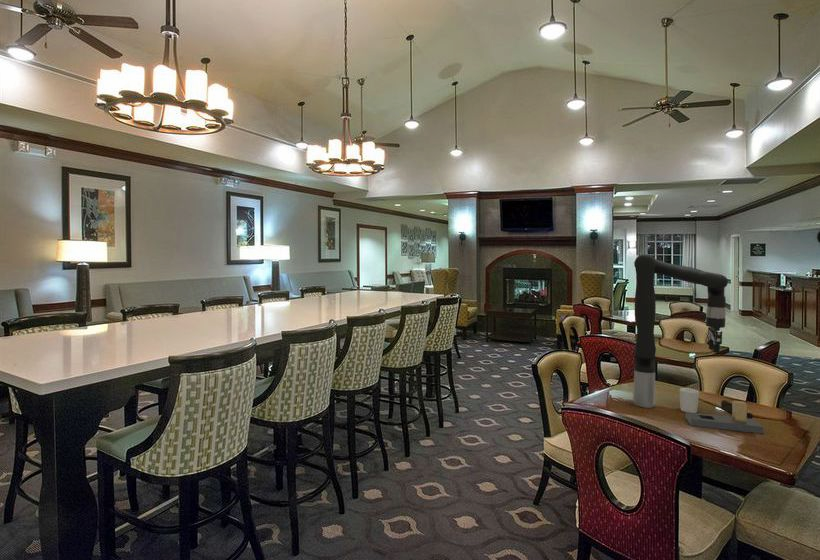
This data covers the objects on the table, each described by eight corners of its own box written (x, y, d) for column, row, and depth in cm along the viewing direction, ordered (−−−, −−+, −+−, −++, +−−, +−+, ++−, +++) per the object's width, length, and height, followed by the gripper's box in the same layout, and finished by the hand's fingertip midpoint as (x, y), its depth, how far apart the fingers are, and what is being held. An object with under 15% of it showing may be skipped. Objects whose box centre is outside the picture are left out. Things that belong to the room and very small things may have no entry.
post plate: (690, 425, 194) (691, 419, 194) (685, 418, 204) (685, 411, 203) (763, 433, 185) (763, 426, 185) (754, 425, 195) (754, 419, 194)
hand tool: (753, 422, 200) (753, 411, 200) (744, 421, 200) (744, 411, 200) (727, 408, 219) (727, 399, 219) (718, 408, 219) (719, 399, 219)
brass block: (735, 421, 191) (735, 403, 191) (732, 418, 195) (732, 400, 194) (746, 422, 190) (746, 404, 189) (742, 419, 193) (743, 401, 193)
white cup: (700, 410, 215) (700, 390, 214) (696, 414, 209) (697, 393, 208) (681, 407, 220) (681, 387, 220) (677, 410, 214) (677, 390, 214)
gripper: (702, 314, 217) (700, 347, 218) (710, 317, 204) (708, 353, 204) (720, 315, 214) (719, 349, 215) (729, 318, 201) (727, 354, 202)
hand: (713, 350), depth 210 cm, fingers open, 8 cm apart
